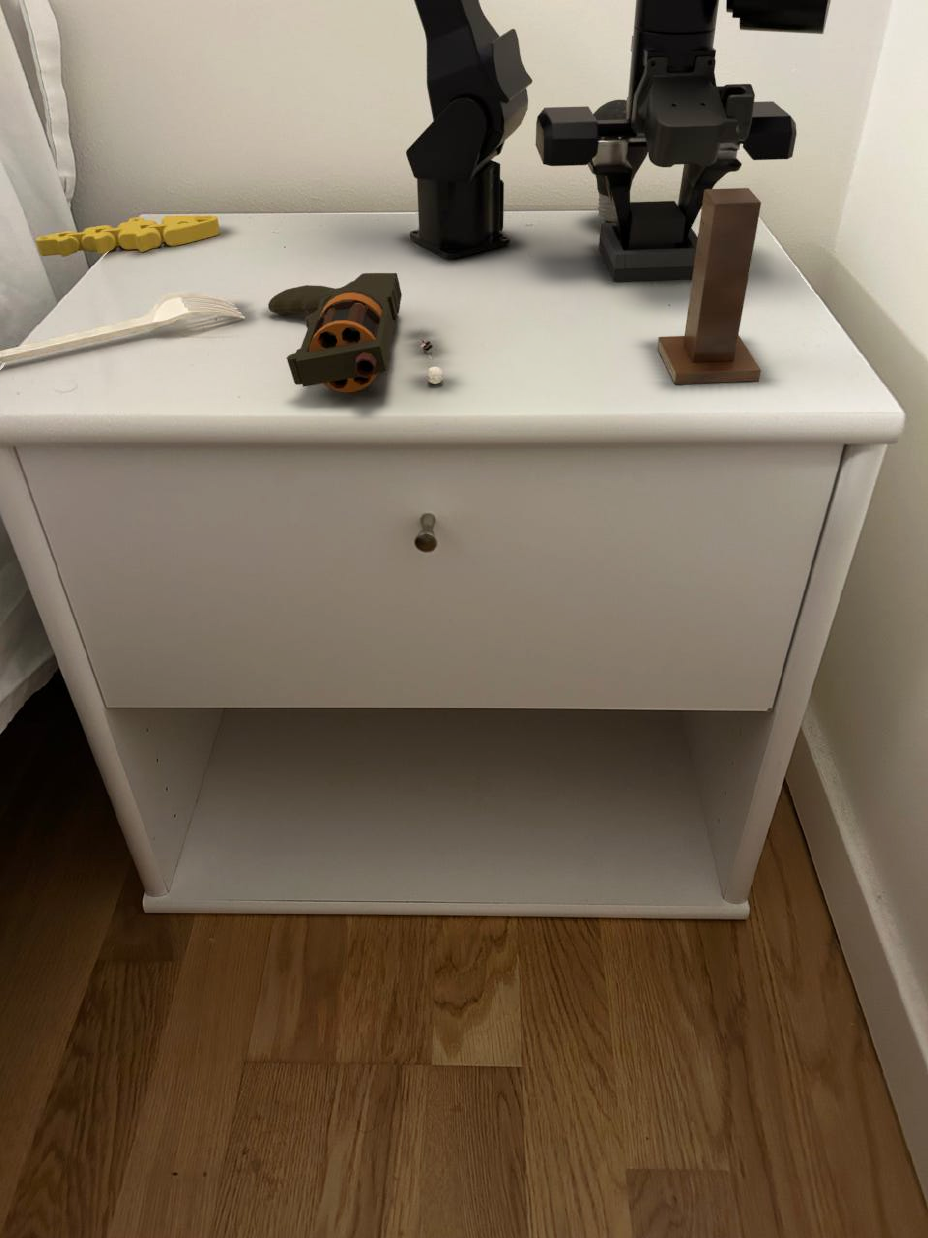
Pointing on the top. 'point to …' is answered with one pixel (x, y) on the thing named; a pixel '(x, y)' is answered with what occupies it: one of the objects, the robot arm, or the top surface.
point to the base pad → (646, 258)
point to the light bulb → (634, 155)
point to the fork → (131, 324)
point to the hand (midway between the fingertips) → (650, 247)
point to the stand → (717, 294)
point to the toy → (131, 235)
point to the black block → (656, 222)
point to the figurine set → (433, 373)
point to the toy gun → (343, 330)
